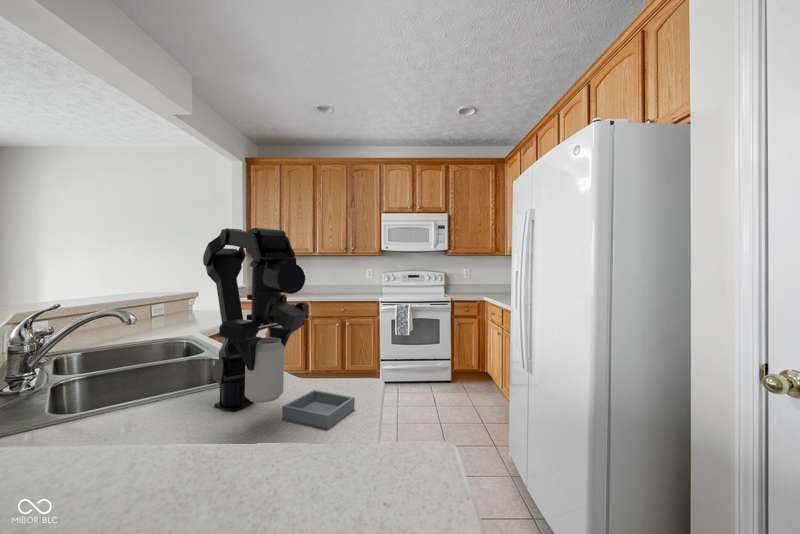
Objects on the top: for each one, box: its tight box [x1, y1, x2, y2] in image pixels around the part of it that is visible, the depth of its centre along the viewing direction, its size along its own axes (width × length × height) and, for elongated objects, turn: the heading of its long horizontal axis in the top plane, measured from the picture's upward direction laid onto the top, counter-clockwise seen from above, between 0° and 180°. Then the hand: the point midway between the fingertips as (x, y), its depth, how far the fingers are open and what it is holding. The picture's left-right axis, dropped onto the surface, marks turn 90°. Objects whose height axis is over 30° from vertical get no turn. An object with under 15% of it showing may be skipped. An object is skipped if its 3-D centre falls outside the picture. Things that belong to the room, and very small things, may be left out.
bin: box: [281, 389, 356, 431], centre depth 83 cm, size 11×11×3 cm
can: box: [245, 336, 285, 404], centre depth 76 cm, size 8×8×12 cm
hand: (264, 365), depth 76 cm, fingers closed on can, 7 cm apart
